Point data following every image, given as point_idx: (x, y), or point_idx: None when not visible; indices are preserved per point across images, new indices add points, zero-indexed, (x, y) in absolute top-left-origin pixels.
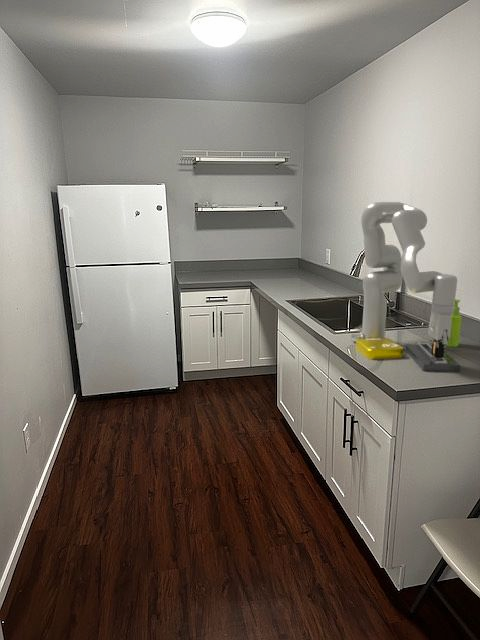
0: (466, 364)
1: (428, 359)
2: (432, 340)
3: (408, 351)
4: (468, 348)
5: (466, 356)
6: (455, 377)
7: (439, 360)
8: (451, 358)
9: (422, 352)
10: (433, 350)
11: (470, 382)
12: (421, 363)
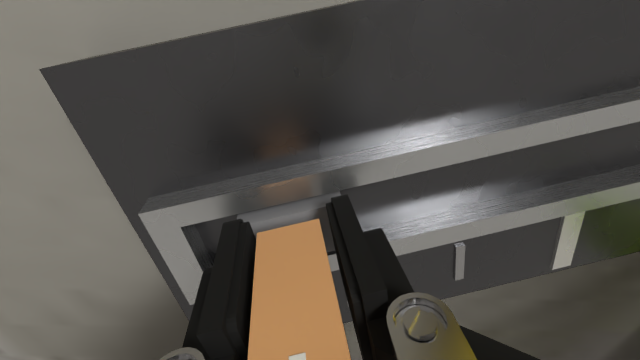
0: None
1: (277, 142)
2: (463, 343)
3: None
4: (629, 347)
5: (508, 340)
6: (74, 289)
7: (187, 250)
8: None
9: (515, 97)
10: (307, 246)
11: (27, 352)
12: (141, 47)
